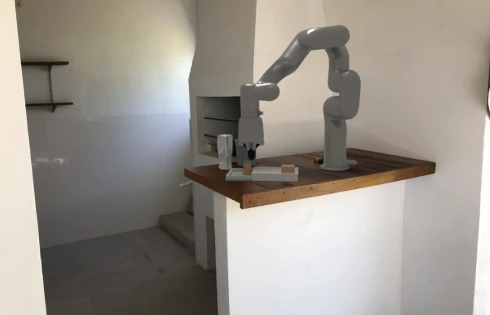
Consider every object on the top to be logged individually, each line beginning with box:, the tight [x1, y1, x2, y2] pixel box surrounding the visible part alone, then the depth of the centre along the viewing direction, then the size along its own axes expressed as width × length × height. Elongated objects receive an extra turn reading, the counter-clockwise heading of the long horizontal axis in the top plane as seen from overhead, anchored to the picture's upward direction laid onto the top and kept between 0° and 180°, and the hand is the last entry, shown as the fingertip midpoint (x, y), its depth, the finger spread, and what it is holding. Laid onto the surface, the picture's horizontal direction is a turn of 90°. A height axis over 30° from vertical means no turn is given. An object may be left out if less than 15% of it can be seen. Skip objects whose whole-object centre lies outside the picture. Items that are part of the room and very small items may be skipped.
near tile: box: [280, 163, 295, 173], centre depth 164 cm, size 5×5×2 cm
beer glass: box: [216, 134, 234, 171], centre depth 186 cm, size 7×7×15 cm
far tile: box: [242, 160, 252, 175], centre depth 173 cm, size 5×5×2 cm
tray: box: [225, 167, 254, 182], centre depth 170 cm, size 10×15×2 cm, turn 173°
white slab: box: [251, 166, 299, 183], centre depth 168 cm, size 18×13×3 cm
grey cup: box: [234, 138, 257, 167], centre depth 195 cm, size 10×10×12 cm
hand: (251, 159), depth 172 cm, fingers closed
